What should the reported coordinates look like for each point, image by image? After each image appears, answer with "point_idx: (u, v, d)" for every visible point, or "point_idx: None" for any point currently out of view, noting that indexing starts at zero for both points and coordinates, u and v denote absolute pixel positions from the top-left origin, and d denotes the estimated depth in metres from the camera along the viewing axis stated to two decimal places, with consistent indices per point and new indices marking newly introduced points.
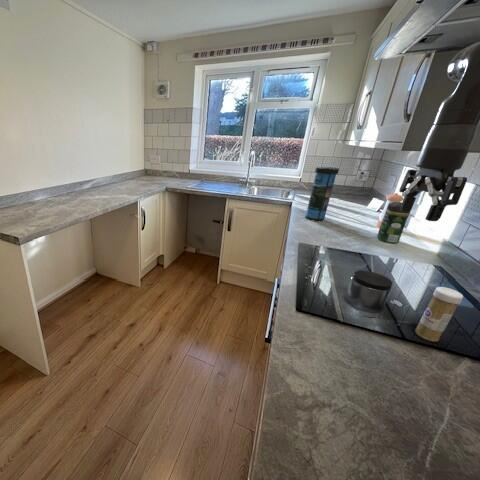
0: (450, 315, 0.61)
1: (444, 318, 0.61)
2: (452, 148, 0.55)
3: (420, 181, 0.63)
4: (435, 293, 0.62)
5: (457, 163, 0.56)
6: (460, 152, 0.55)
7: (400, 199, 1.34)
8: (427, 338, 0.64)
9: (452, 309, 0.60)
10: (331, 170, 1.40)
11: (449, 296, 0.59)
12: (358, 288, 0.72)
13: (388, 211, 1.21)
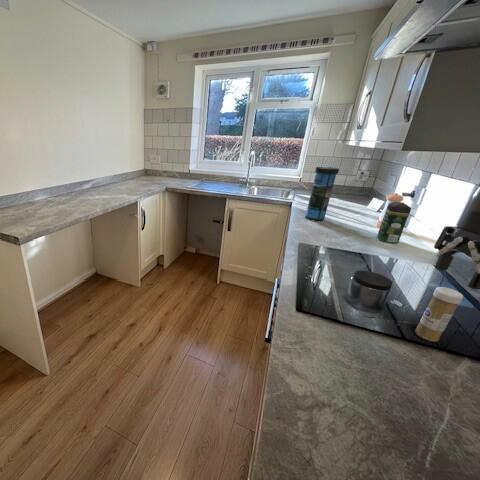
0: (450, 315, 0.61)
1: (444, 318, 0.61)
2: None
3: (461, 243, 0.57)
4: (435, 293, 0.62)
5: None
6: None
7: (400, 199, 1.34)
8: (427, 338, 0.64)
9: (452, 309, 0.60)
10: (331, 170, 1.40)
11: (449, 296, 0.59)
12: (358, 288, 0.72)
13: (388, 211, 1.21)
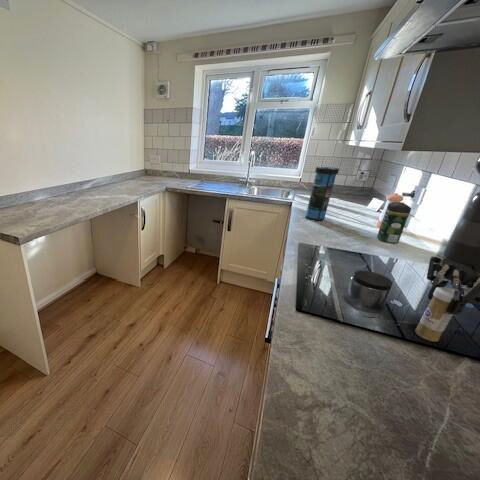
0: (450, 315, 0.61)
1: (444, 318, 0.61)
2: None
3: (448, 270, 0.60)
4: (435, 293, 0.62)
5: None
6: None
7: (400, 199, 1.34)
8: (427, 338, 0.64)
9: None
10: (331, 170, 1.40)
11: (449, 296, 0.59)
12: (358, 288, 0.72)
13: (388, 211, 1.21)
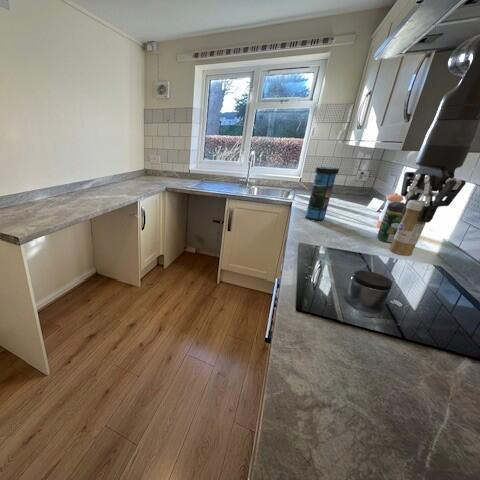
0: (422, 225, 0.61)
1: (416, 229, 0.61)
2: (453, 145, 0.53)
3: (420, 179, 0.60)
4: (408, 205, 0.62)
5: (458, 161, 0.54)
6: (461, 149, 0.53)
7: (400, 199, 1.34)
8: (400, 253, 0.64)
9: None
10: (331, 170, 1.40)
11: (421, 204, 0.59)
12: (358, 288, 0.72)
13: (388, 211, 1.21)
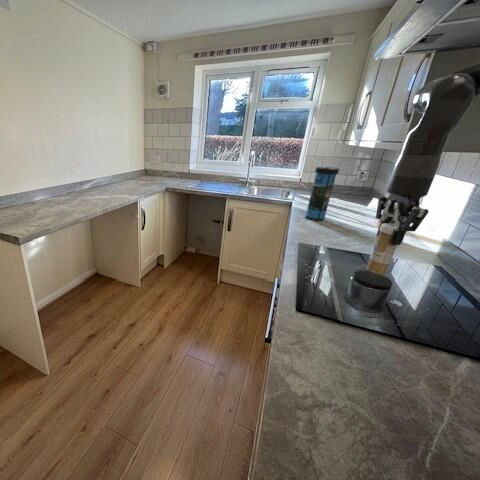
0: (393, 247, 0.66)
1: (388, 250, 0.67)
2: (417, 177, 0.58)
3: (391, 205, 0.65)
4: (380, 228, 0.67)
5: (422, 191, 0.59)
6: (424, 181, 0.58)
7: None
8: (375, 271, 0.70)
9: None
10: (331, 170, 1.40)
11: (391, 228, 0.65)
12: (358, 288, 0.72)
13: None
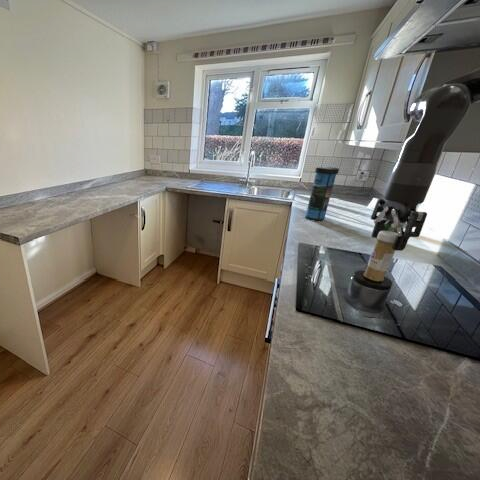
0: (391, 254, 0.67)
1: (386, 257, 0.67)
2: (414, 184, 0.59)
3: (388, 212, 0.66)
4: (378, 236, 0.68)
5: (419, 198, 0.60)
6: (421, 188, 0.59)
7: None
8: (372, 278, 0.70)
9: None
10: (331, 170, 1.40)
11: (388, 236, 0.66)
12: (358, 288, 0.72)
13: None
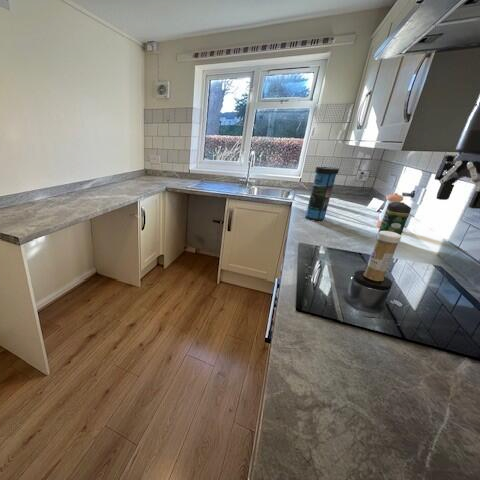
0: (391, 254, 0.67)
1: (386, 257, 0.67)
2: None
3: (460, 166, 0.59)
4: (378, 236, 0.68)
5: None
6: None
7: (400, 199, 1.34)
8: (372, 278, 0.70)
9: (392, 248, 0.66)
10: (331, 170, 1.40)
11: (388, 236, 0.66)
12: (358, 288, 0.72)
13: (388, 211, 1.21)
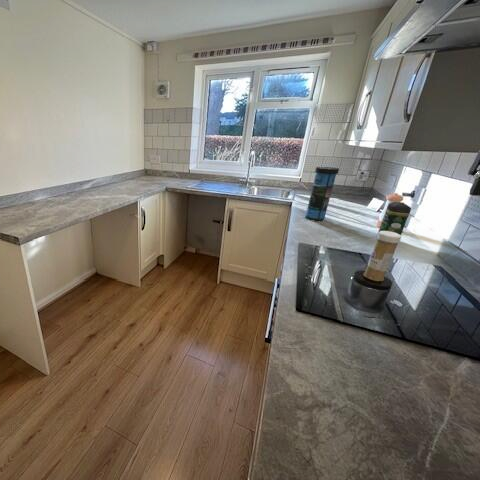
0: (391, 254, 0.67)
1: (386, 257, 0.67)
2: None
3: None
4: (378, 236, 0.68)
5: None
6: None
7: (400, 199, 1.34)
8: (372, 278, 0.70)
9: (392, 248, 0.66)
10: (331, 170, 1.40)
11: (388, 236, 0.66)
12: (358, 288, 0.72)
13: (388, 211, 1.21)
